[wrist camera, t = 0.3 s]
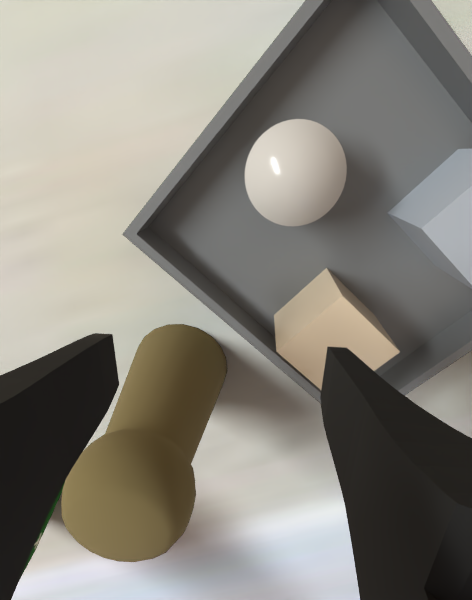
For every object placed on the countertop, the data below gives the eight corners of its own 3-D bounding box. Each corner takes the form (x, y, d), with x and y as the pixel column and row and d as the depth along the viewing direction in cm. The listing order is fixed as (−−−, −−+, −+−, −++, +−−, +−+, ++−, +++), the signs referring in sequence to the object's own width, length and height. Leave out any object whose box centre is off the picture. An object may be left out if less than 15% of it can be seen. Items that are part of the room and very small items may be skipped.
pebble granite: (347, 169, 17) (368, 173, 13) (287, 229, 18) (293, 245, 15) (290, 106, 16) (297, 93, 12) (231, 174, 17) (224, 178, 14)
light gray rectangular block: (506, 209, 17) (575, 224, 13) (435, 265, 18) (479, 294, 14) (458, 148, 16) (517, 146, 12) (387, 212, 17) (421, 228, 13)
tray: (569, 240, 18) (616, 253, 15) (343, 402, 23) (352, 430, 20) (352, -44, 14) (370, -83, 12) (139, 224, 19) (122, 234, 17)
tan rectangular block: (374, 314, 19) (400, 351, 16) (320, 357, 21) (333, 400, 17) (326, 267, 18) (342, 295, 15) (273, 315, 20) (276, 351, 16)
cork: (118, 365, 23) (3, 533, 13) (172, 305, 21) (87, 448, 11) (188, 416, 24) (134, 605, 14) (246, 364, 22) (232, 542, 12)
